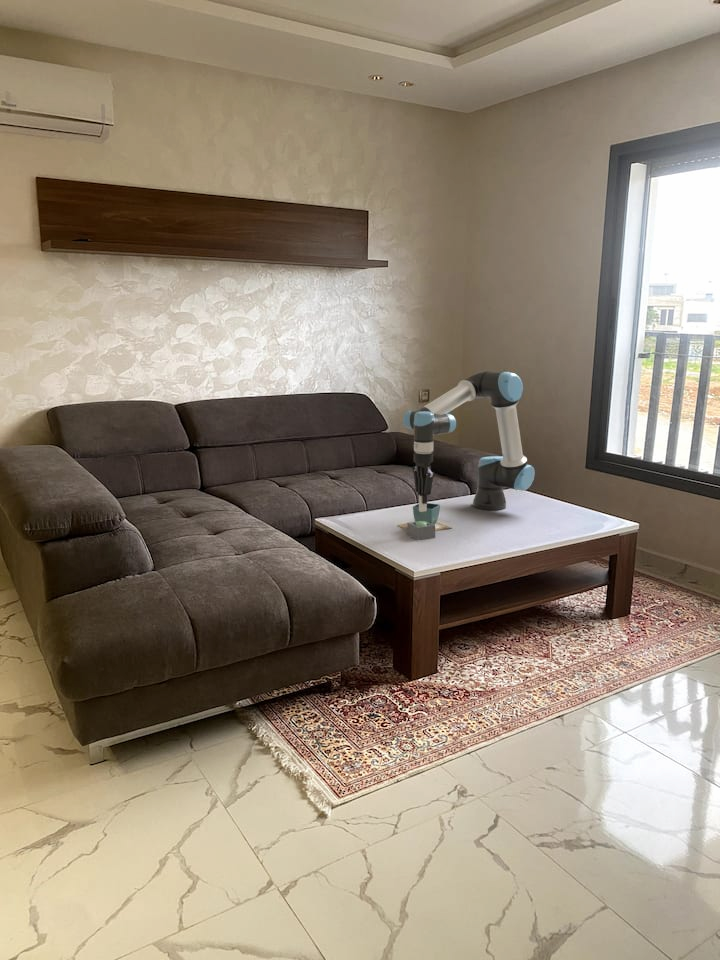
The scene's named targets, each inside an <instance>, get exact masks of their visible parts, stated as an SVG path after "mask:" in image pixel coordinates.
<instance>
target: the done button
mask: <svg viewBox="0 0 720 960" xmlns="http://www.w3.org/2000/svg"><path fill="white" fill-rule="evenodd" d="M416 525H417V526H426V525H427V522H425V521H417V522H416Z"/></svg>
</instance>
